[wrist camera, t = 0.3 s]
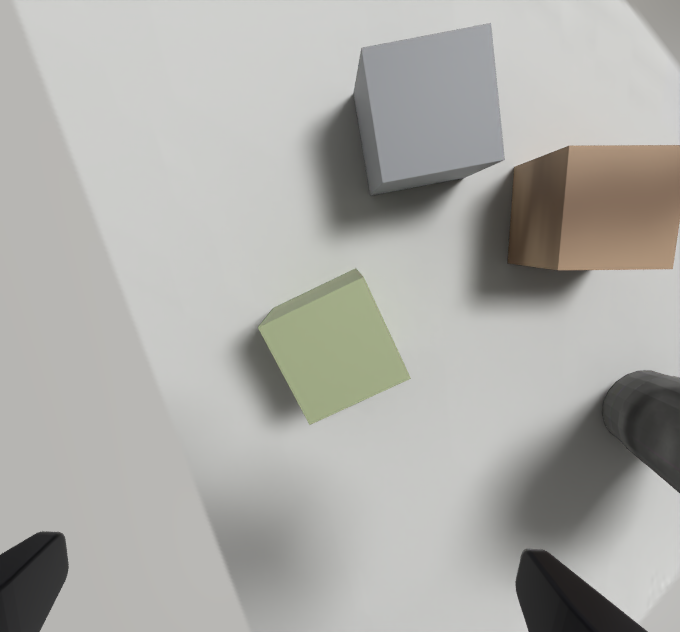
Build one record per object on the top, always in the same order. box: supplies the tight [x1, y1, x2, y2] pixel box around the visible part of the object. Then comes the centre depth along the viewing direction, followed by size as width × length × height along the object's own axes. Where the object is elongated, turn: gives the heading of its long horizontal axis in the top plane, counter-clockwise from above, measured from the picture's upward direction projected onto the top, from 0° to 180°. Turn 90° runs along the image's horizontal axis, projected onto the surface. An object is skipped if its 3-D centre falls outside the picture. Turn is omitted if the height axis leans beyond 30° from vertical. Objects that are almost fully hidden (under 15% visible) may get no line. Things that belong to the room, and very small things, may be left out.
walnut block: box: [508, 145, 680, 270], centre depth 19 cm, size 5×5×5 cm
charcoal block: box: [353, 23, 505, 196], centre depth 18 cm, size 5×5×5 cm
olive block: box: [258, 269, 411, 425], centre depth 20 cm, size 5×5×5 cm
